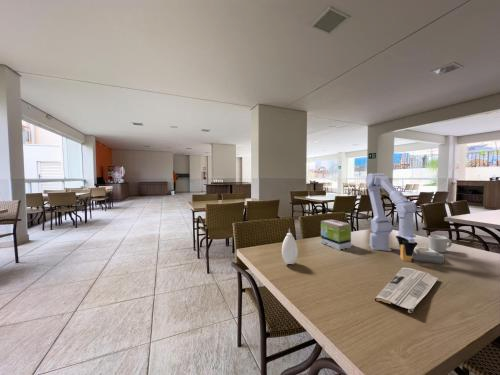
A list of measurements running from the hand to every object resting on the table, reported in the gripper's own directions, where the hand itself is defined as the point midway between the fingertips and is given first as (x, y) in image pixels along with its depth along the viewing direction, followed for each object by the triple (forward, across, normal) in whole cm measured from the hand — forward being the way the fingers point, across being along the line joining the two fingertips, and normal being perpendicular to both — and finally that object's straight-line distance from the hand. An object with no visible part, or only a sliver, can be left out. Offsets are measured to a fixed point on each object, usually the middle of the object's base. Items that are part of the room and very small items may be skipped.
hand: (405, 252), depth 105 cm
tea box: (+4, +14, +32) cm, 35 cm away
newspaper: (+4, -32, +10) cm, 34 cm away
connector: (+3, 0, 0) cm, 4 cm away
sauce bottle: (+4, -21, +55) cm, 59 cm away
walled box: (+3, +5, -10) cm, 11 cm away
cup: (+4, +18, -22) cm, 29 cm away
